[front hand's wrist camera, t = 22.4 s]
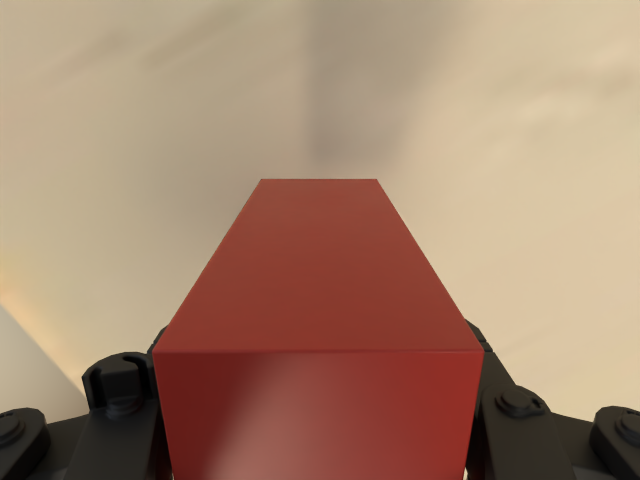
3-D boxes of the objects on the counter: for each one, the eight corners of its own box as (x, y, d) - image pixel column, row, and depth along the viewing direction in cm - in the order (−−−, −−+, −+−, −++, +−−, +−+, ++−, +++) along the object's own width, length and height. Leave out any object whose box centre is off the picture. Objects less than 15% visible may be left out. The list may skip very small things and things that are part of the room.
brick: (377, 178, 16) (486, 350, 6) (369, 320, 19) (438, 632, 8) (260, 178, 16) (150, 350, 6) (268, 320, 19) (199, 633, 8)
